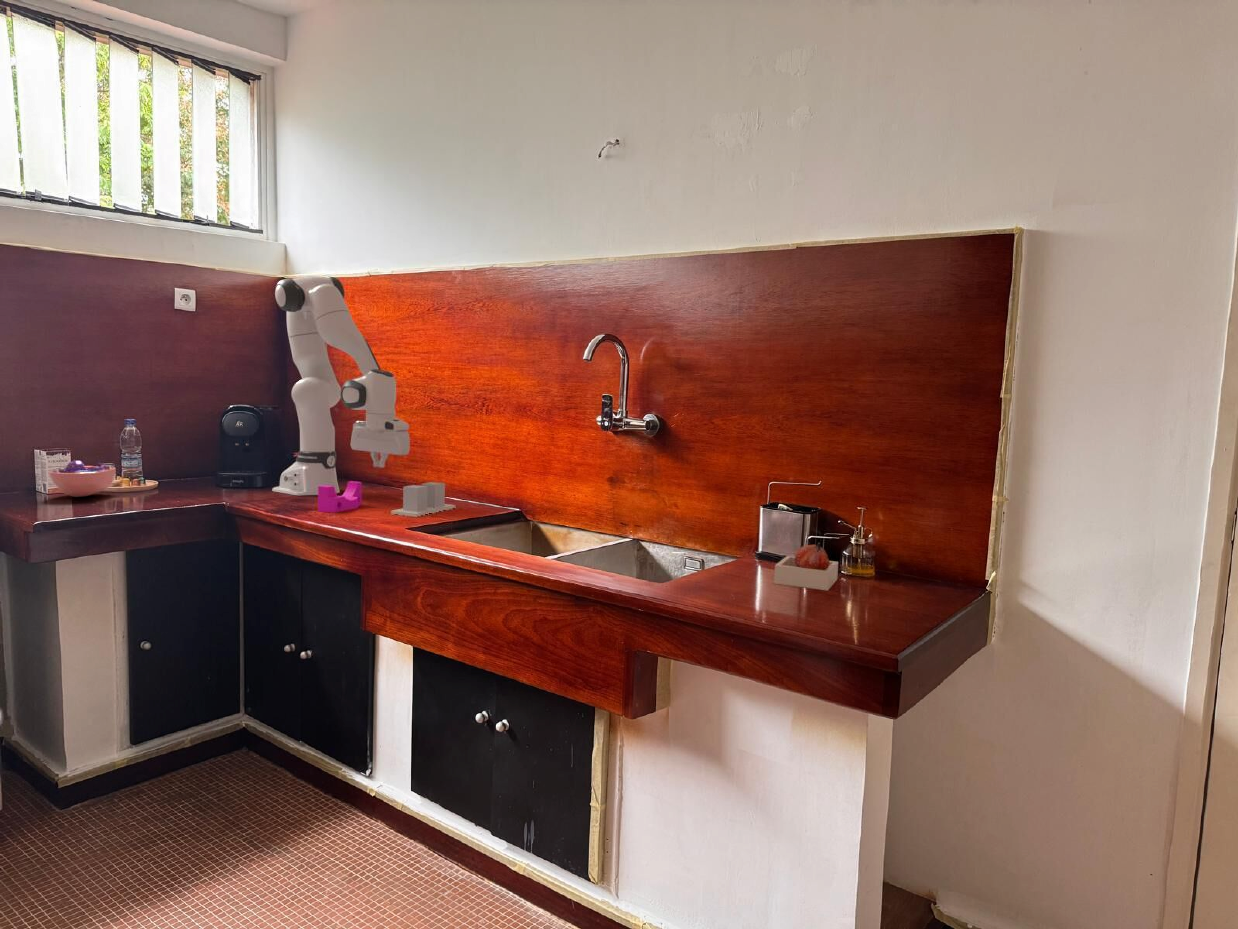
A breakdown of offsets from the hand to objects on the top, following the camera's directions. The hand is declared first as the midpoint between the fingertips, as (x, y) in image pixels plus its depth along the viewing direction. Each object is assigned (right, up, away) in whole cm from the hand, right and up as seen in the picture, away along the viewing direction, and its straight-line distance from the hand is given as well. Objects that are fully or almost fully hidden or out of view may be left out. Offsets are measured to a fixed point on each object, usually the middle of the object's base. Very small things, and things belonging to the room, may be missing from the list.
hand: (379, 467), depth 271 cm
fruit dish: (+116, -25, -80) cm, 143 cm away
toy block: (-9, -13, -6) cm, 17 cm away
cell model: (-92, -9, +1) cm, 92 cm away
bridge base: (+15, -13, -6) cm, 21 cm away
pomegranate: (+116, -25, -80) cm, 143 cm away
